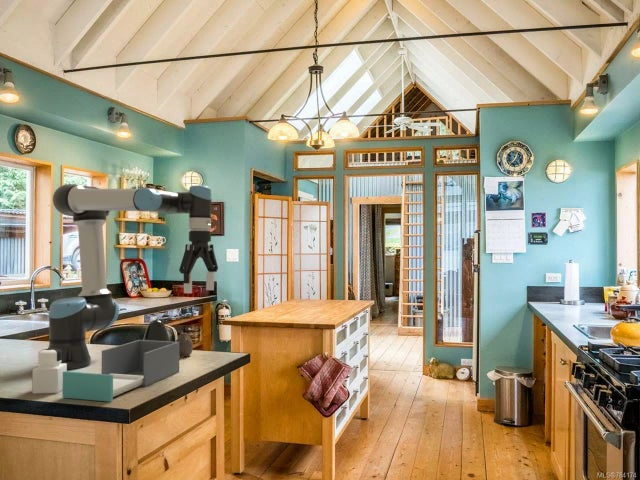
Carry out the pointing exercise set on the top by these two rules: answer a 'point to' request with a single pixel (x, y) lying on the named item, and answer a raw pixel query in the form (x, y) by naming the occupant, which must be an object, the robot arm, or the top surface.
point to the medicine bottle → (48, 372)
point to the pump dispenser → (156, 331)
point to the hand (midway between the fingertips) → (199, 291)
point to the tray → (98, 385)
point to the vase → (184, 345)
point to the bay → (143, 360)
